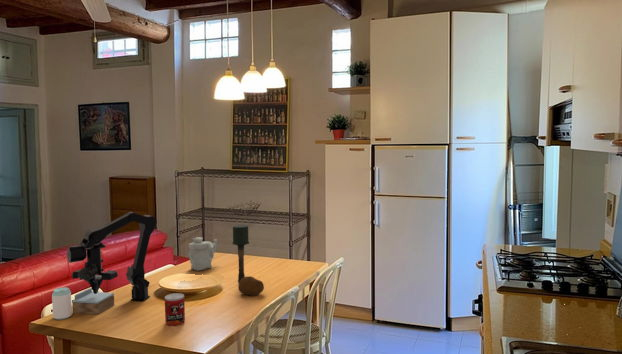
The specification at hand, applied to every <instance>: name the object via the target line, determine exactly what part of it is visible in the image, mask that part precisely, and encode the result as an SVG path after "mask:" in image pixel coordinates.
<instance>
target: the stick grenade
mask: <svg viewBox="0 0 622 354" xmlns="http://www.w3.org/2000/svg"><path fill="white" fill-rule="evenodd" d="M231 243H232V245H233V246H236V247H237V257H238V276H237V278H238V279H237V283H238V284H239V282H240V280H241V279H242V278H243V277H246V275H245V259H244V258H245V245H249V244H250V241H249V226H248V225H246V224H236V225H234V226H232V242H231Z"/></svg>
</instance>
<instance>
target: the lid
mask: <svg viewBox="0 0 622 354" xmlns="http://www.w3.org/2000/svg"><path fill="white" fill-rule="evenodd" d="M113 295H114V296H115V293H114V292H100V291H98V292H97V294H94V292H93V290H92V288H91V287H88V288H87V289H85V290H83V291H81V292H78V293H77V294H75V295H74V298H73V299H71V303H73V302H77V303H94V304H98V303H100V302H101V301H103V300H105V299H107V298H109V297H111V296H113Z"/></svg>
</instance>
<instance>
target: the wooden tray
mask: <svg viewBox="0 0 622 354" xmlns="http://www.w3.org/2000/svg"><path fill="white" fill-rule="evenodd" d="M71 305H72V314H79V313H80V314H82V315H83V314H84V315H100V314H102V313H103V312H105V311H107V310H109V309H110V308H112V307H114V306H115V294H114V295H113V296H111V297H109V298H107V299H105V300H103V301H101V302H100V303H98V304H94V303H77V302H71ZM80 314H79V315H80Z"/></svg>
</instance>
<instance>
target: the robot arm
mask: <svg viewBox="0 0 622 354" xmlns="http://www.w3.org/2000/svg"><path fill="white" fill-rule="evenodd" d="M133 222H136V223H138V228H139V236H138V237H139V238H138V242H137V245H136V251H135V256H134V259H133V263H132V265H131V266H127V270H126V271H127V272H126V273H125V276H126V280H127V281H128V282H129V283H130V284H131V298H130V301H134V302H135V301H137V302H144V301H145V300H146V301H147V299H149V298H150V297H151V295H149V287H150V281H148V280H147V279H146V278H145V275H146V273H145V272H146V271H145V261H146V256H147V251H148V248H149V243H150V238H151V235H152V234H153V232H154V231H155V230H156V227H157V224H158V220H157V219H156V217H155V216H152V215H149V214H144V215H142V214H138V213H136V212H133V211H128V212H126V213H125V214H124V215H121V216H120V217H118V218H115V219H114V220H111V221H110V222H108V223H106V224H104V225H101V226H97V227H94V228H91V229H88V230H87V231H85V234H83V235H84V236H83V238H82V240H81V242H80V243H79V245H75V246H72V245H71V246H68V247H67V251H66V252H67V253H66V259H67V263H68V264H72V263H78V262H81V261H82V262H84V260H86V261H85V262H84V267H82V268H79V269H76V270H74V271H73V272H72V274H71V279H74V280H75V279H77V280H78V279H79V280H80V281H82V280H83V281H84V282H87V283H88V284H89V286H90V288H92V292H94V294H97V292H99V290H100V288H101V285H102V283H103V282H104V281H111V280H114V279H115V278H118V271H117V270H107V271H105V272H104V270H105V269H104V268H102V263H104V259H102V251H101V249H103V248H106V245H105V244H103V241H104V240H105V239H106V238H107V237H108V236H109V235H110V234H111V233H113V232H116V231H117V230H119V229H121V228H123V227H124V226H127V225H128V224H130V223H133Z"/></svg>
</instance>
